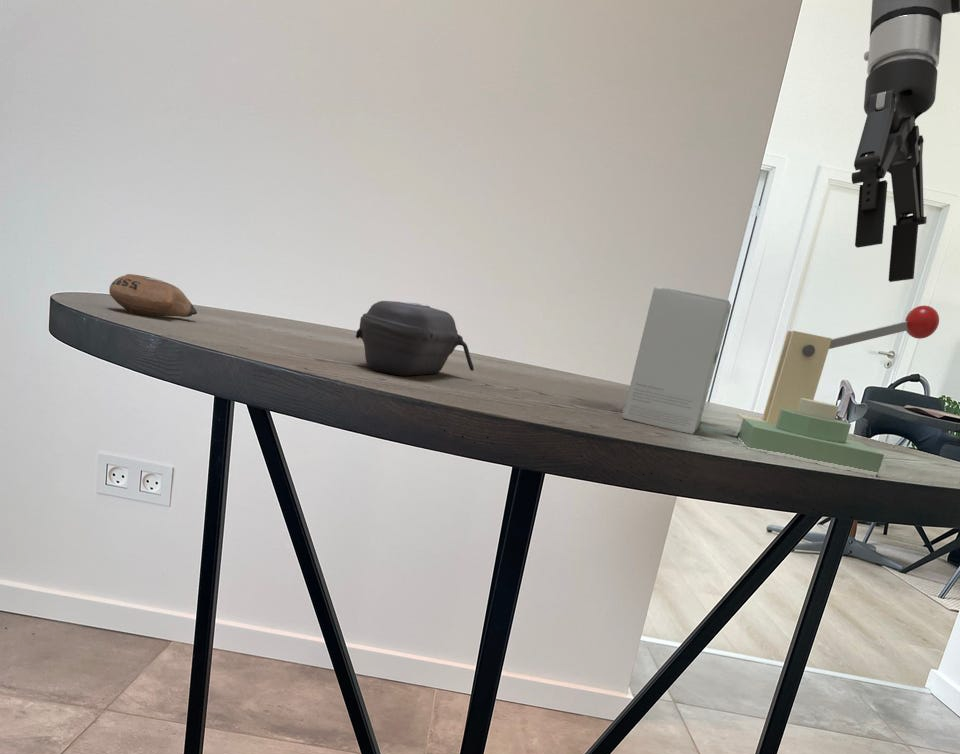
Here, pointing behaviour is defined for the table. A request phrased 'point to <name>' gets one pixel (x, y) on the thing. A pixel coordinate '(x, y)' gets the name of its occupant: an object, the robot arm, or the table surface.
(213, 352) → the table surface
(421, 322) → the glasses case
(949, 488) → the table surface
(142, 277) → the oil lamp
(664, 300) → the white packaging box
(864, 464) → the button box
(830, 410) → the button
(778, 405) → the bracket
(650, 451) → the table surface
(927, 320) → the lever
